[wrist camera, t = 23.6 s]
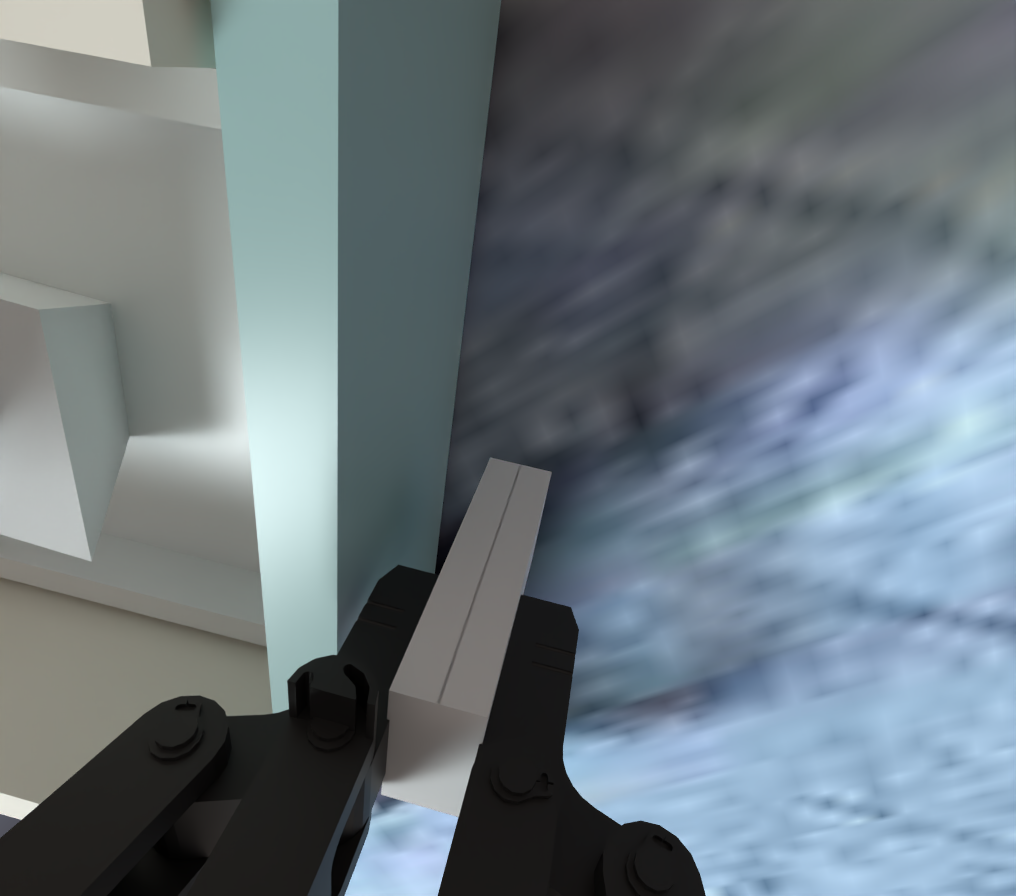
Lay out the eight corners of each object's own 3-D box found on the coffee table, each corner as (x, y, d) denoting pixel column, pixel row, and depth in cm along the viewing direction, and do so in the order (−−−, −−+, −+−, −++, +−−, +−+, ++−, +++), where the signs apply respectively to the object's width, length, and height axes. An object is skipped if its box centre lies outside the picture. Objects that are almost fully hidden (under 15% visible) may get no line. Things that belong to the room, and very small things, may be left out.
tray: (502, -5, 13) (338, -100, 6) (425, 650, 23) (336, 885, 16) (-320, -143, 14) (-1201, -344, 7) (-40, 531, 25) (-296, 701, 18)
